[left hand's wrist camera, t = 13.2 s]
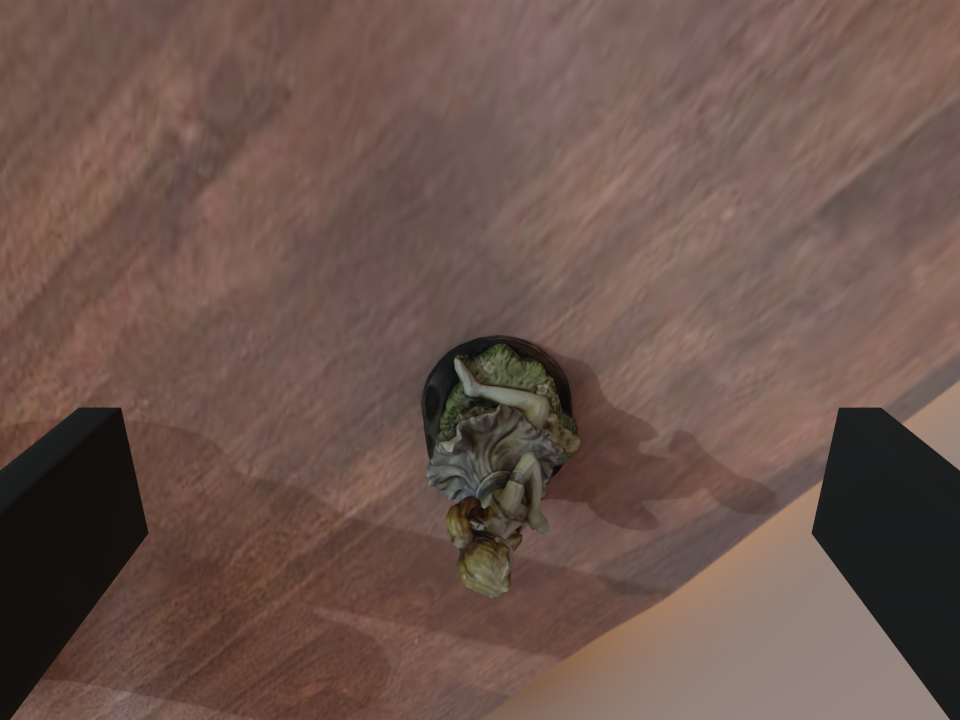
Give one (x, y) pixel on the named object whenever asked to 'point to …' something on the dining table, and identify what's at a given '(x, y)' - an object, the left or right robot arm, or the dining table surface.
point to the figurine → (495, 448)
